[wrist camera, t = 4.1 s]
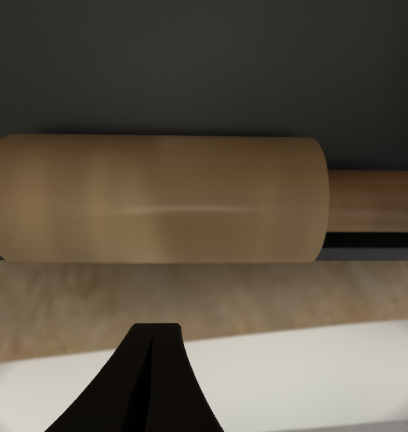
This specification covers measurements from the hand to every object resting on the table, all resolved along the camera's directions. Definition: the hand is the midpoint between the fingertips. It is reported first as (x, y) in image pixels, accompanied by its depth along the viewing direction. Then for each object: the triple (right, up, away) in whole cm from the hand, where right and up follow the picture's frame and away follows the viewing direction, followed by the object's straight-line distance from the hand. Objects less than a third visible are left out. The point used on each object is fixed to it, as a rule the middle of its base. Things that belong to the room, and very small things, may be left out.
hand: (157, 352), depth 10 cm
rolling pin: (0, +4, +2) cm, 5 cm away
